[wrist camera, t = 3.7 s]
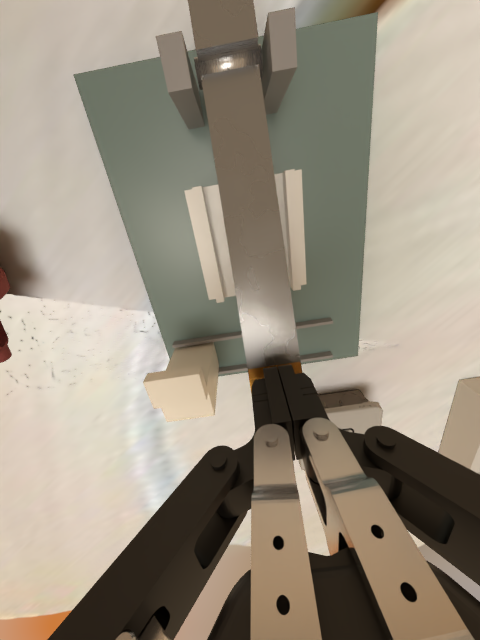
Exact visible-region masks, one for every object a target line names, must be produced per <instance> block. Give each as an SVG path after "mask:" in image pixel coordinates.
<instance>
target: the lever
mask: <svg viewBox="0 0 480 640" xmlns="http://www.w3.org/2000/svg"><path fill="white" fill-rule="evenodd" d="M188 3H189V10H190V16H191V22H192V28H193V35H194V41H195V47H196V53H197V57H195V58H194V63H195V69H196V74H197V79H198V84H199V89H200V90H202V89H203V93H204V99H205V105H206V111H207V118H208V124H209V130H210V136H211V143H212V149H213V155H214V161H215V168H216V174H217V180H218V186H219V193H220V199H221V205H222V212H223V218H224V224H225V230H226V237H227V243H228V249H229V255H230V262H231V268H232V274H233V280H234V287H235V293H236V299H237V305H238V312H239V318H240V324H241V330H242V337H243V343H244V349H245V355H246V362H247V368H248V374H249V380H250V387H251V386H252V384H253V382H254V380H256V379H263V378H264V374H263V368H270V367H277V366H283V365H290V364H291V365H292V367H293V370H294V372H295V374H297V373H302V368H301V360H300V353H299V346H298V339H297V332H296V325H295V318H294V311H293V304H292V296H291V289H290V282H289V275H288V268H287V261H286V254H285V247H284V240H283V232H282V225H281V218H280V211H279V204H278V197H277V190H276V183H275V176H274V168H273V161H272V154H271V147H270V140H269V133H268V126H267V119H266V112H265V105H264V97H263V90H262V83H261V78H262V75H263V59H262V49H261V45H260V44H258V32H257V25H256V18H255V10H254V3H253V0H188ZM251 393H252V391H251Z"/></svg>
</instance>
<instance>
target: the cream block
mask: <svg viewBox="0 0 480 640" xmlns="http://www.w3.org/2000/svg"><path fill="white" fill-rule="evenodd" d="M218 371H219V363H218V358H217V354H216V350H215V346H214V342H210V343H203V344H197V345H190V346H184V347H177V348H175V349H174V352H173V354H172V357H171V359H170V361H169V364H168V366H167V369H166V371H161V372H154V373H148V374H147V376H146V378H145V379H144V381H143V383H144V386H145V388H146V391H147V393H148V396H149V398H150V400H151V403H152V405H153V408H154V409H156V408H162V411H163V413H164V416H165V418H166V421H167V422H171V421H178V420H185V419H192V418H199V417H206V416H213V415H215V405H216V394H217V383H218Z"/></svg>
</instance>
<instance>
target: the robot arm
mask: <svg viewBox="0 0 480 640" xmlns="http://www.w3.org/2000/svg"><path fill="white" fill-rule="evenodd" d="M263 374H264V378H263V379H256V380H254V382H253V384H252V386H251V391H252V401H253V411H254V421H255V433H254V436H253V438H252V439H251V440H250V441H249V442H248V443H247V444H246V445H244V446H242V447H240V448H238V449H236V450H233V449H232V448H230V447H228V446H217V447H214V448H212V449H211V450H209V451H208V452H207V453H206V454H205V455H204V456H203V458H202V459H201V460H200V461H199V462H198V464H197V465H196V466H195V467H194V468H193V469H192V471H191V472H190V473H189V474H188V475H187V476H186V478H185V479H184V480H183V481H182V482H181V484H180V485H179V486H178V487H177V488H176V489H175V491H174V492H173V493H172V494H171V495H170V496H169V498H168V499H167V500H166V501H165V502H164V503H163V505H162V506H161V507H160V508H159V509H158V511H157V512H156V513H155V514H154V515H153V516H152V518H151V519H150V520H149V521H148V522H147V523H146V525H145V526H144V527H143V528H142V529H141V530H140V532H139V533H138V534H137V535H136V536H135V538H134V539H133V540H132V541H131V542H130V543H129V545H128V546H127V547H126V548H125V549H124V550H123V552H122V553H121V554H120V555H119V556H118V557H117V559H116V560H115V561H114V562H113V563H112V565H111V566H110V567H109V568H108V569H107V570H106V572H105V573H104V574H103V575H102V576H101V577H100V579H99V580H98V581H97V582H96V583H95V584H94V586H93V587H92V588H91V589H90V590H89V592H88V593H87V594H86V595H85V596H84V597H83V599H82V600H81V601H80V602H79V603H78V604H77V606H76V607H75V608H74V609H73V610H72V611H71V613H70V614H69V615H68V616H67V617H66V619H65V620H64V621H63V622H62V623H61V624H60V626H59V627H58V628H57V629H56V631H54V633H53V634H52V635H51V636H50V637H49V639H48V640H174V638H175V636H176V634H177V633H178V631H179V629H180V627H181V626H182V624H183V623H184V621H185V619H186V617H187V616H188V614H189V612H190V610H191V609H192V607H193V605H194V603H195V602H196V600H197V598H198V597H199V595H200V593H201V591H202V590H203V588H204V586H205V585H206V583H207V581H208V580H209V578H210V576H211V574H212V572H213V571H214V569H215V567H216V566H217V564H218V562H219V560H220V559H221V557H222V555H223V554H224V552H225V550H226V549H227V547H228V545H229V543H230V542H231V540H232V538H233V536H234V535H235V533H236V531H237V530H238V528H239V526H240V524H241V523H242V521H243V519H244V518H245V516H246V514H247V511H248V510H249V509H251V569H250V570H249V571H248V572H246V573H245V574H244V576H242V577H241V578H240V580H239V581H238V582H237V583H236V585H235V586H234V587H233V589H232V591H231V592H230V594H229V595H228V598H227V599H226V601H225V603H224V605H223V607H222V610H221V612H220V614H219V616H218V618H217V620H216V622H215V624H214V626H213V629H212V631H211V633H210V635H209V637H208V639H207V640H480V602H479V601H478V600H477V599H476V598H474V597H473V596H472V595H471V594H470V593H469V592H467V591H466V590H465V589H464V588H462V587H461V586H460V585H459V584H458V583H457V582H455V581H454V580H453V579H452V578H450V577H449V576H448V575H447V574H445V573H444V572H443V571H442V570H440V569H439V568H437V567H436V566H435V565H433V564H431V563H430V562H428V561H426V560H425V558H424V557H423V555H422V554H421V552H420V550H419V549H418V547H417V545H416V544H415V542H414V540H413V539H412V537H411V536H410V534H409V532H411V533H412V534H413V535H415V536H416V537H417V538H418V539H420V540H421V541H422V542H424V543H425V544H426V545H427V546H429V547H430V548H431V549H433V550H434V551H435V552H437V553H438V554H439V555H441V556H442V557H443V558H444V559H446V560H447V561H448V562H450V563H451V564H452V565H454V566H455V567H456V568H457V569H459V570H460V571H461V572H462V573H464V574H465V575H466V576H468V577H469V578H470V579H472V580H473V581H474V582H476V583H477V584H478V585H479V586H480V474H478V473H476V472H474V471H472V470H470V469H469V468H467V467H465V466H463V465H461V464H459V463H457V462H455V461H453V460H451V459H449V458H447V457H445V456H443V455H442V454H440V453H438V452H436V451H434V450H432V449H430V448H428V447H426V446H424V445H422V444H420V443H418V442H417V441H415V440H413V439H411V438H409V437H407V436H405V435H403V434H401V433H399V432H397V431H395V430H393V429H391V428H388V427H385V426H373V427H370V428H369V429H367V430H366V432H365V434H360V433H354V432H348V431H345V430H342V429H340V428H338V427H337V426H336V425H335V424H334V423H333V422H331V421H330V420H329V418H328V416H327V414H326V411H325V409H324V407H323V405H322V403H321V400H320V398H319V396H318V394H317V392H316V390H315V388H314V385H313V383H312V381H311V379H310V378H309V377H308V376H307V375H306V374H304V373H297V374H295V372H294V370H293V367H292V365H291V364H290V365H283V366H277V367H270V368H263ZM294 451H295V453H294ZM295 455H296V459H297V460H299V459H303V463H304V466H305V474H306V480H307V483H308V485H309V488H310V491H311V494H312V497H313V500H314V503H315V506H316V508H317V511H318V514H319V517H320V520H321V523H322V526H323V529H324V532H325V536H326V540H327V545H328V549H329V553H330V556H323V555H319V554H314V553H310V552H308V549H307V543H306V536H305V530H304V524H303V518H302V511H301V505H300V499H299V493H298V490H297V485H296V478H295V472H294V464H293V460H295ZM407 530H408V531H409V532H408V531H407Z"/></svg>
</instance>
